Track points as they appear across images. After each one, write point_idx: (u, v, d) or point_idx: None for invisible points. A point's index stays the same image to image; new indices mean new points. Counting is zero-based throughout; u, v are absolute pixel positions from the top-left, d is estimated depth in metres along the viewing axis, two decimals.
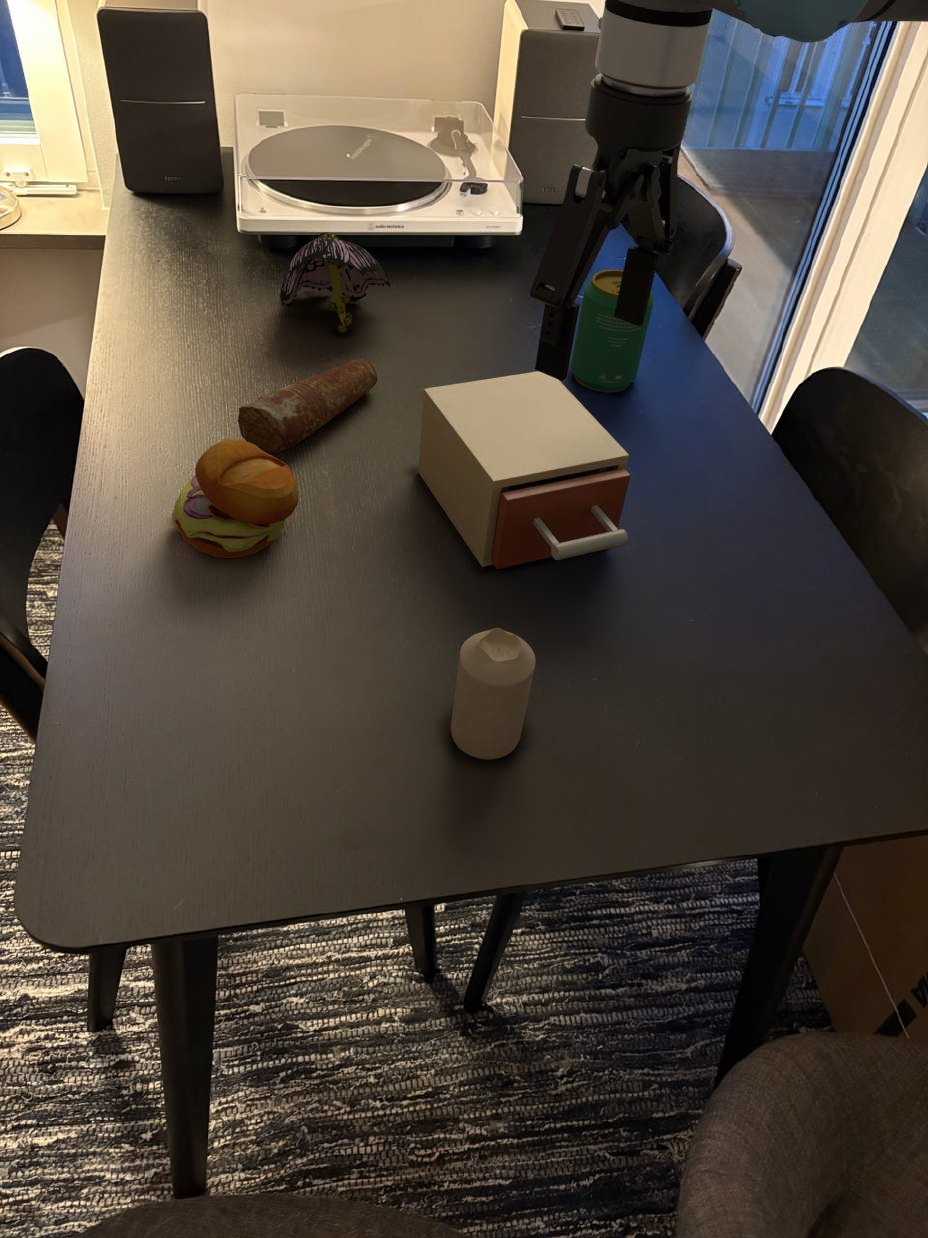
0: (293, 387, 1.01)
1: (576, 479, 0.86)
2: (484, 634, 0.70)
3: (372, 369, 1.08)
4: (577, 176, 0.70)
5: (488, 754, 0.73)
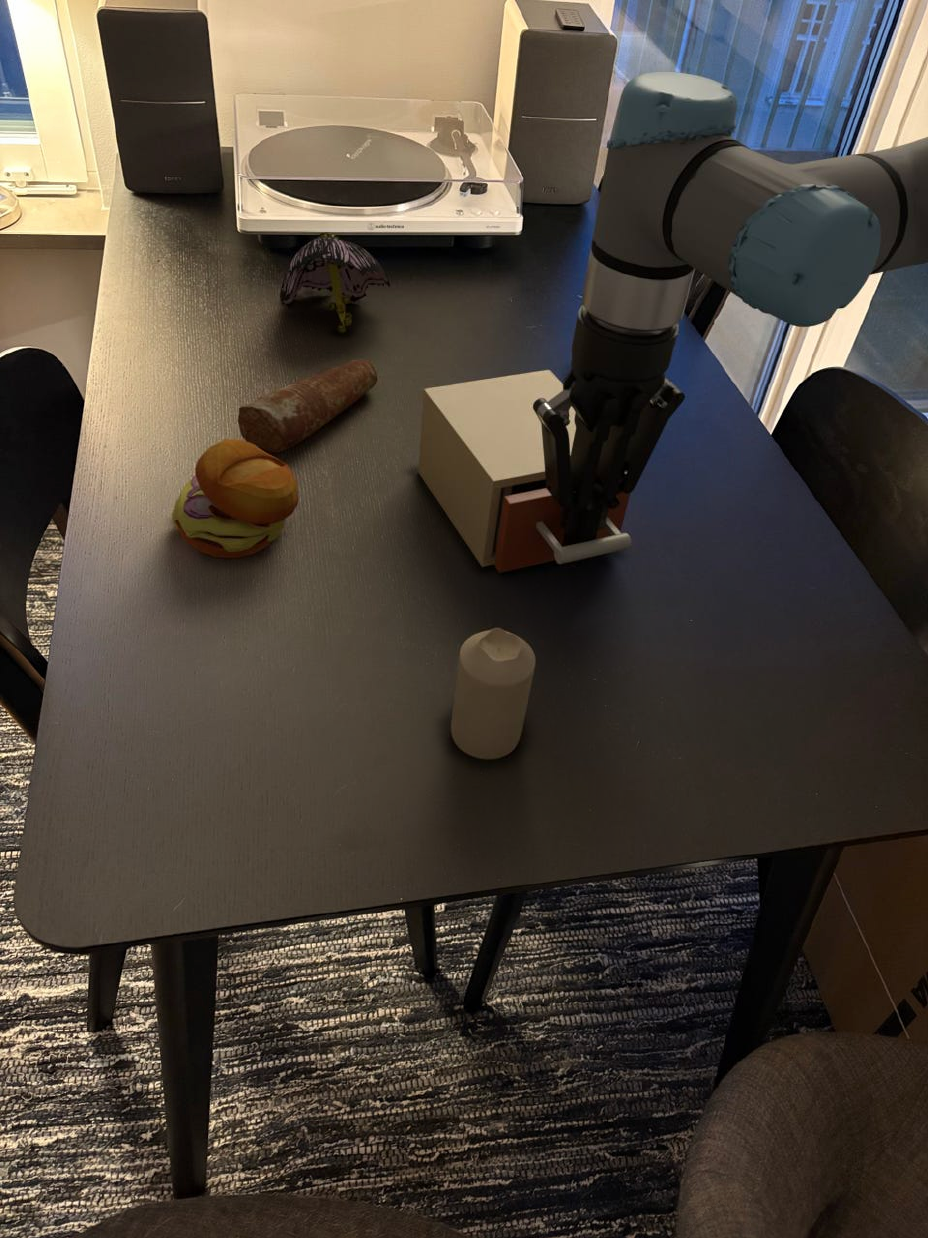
0: (293, 387, 1.01)
1: None
2: (484, 634, 0.70)
3: (372, 369, 1.08)
4: (537, 414, 0.75)
5: (488, 754, 0.73)
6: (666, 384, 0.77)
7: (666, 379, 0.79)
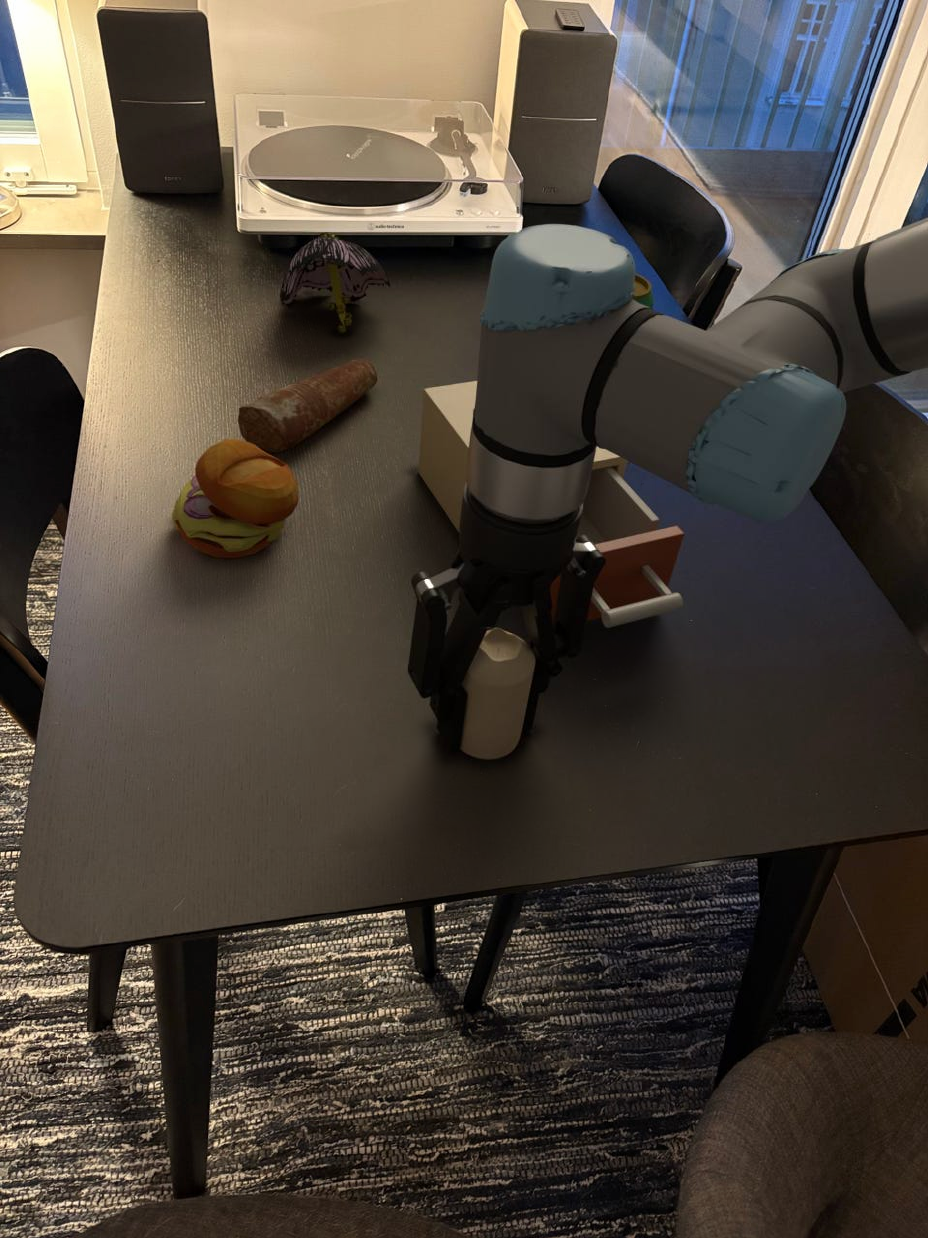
0: (293, 387, 1.01)
1: (627, 539, 0.81)
2: None
3: (372, 369, 1.08)
4: (415, 589, 0.63)
5: (488, 754, 0.73)
6: (579, 551, 0.65)
7: (583, 538, 0.67)
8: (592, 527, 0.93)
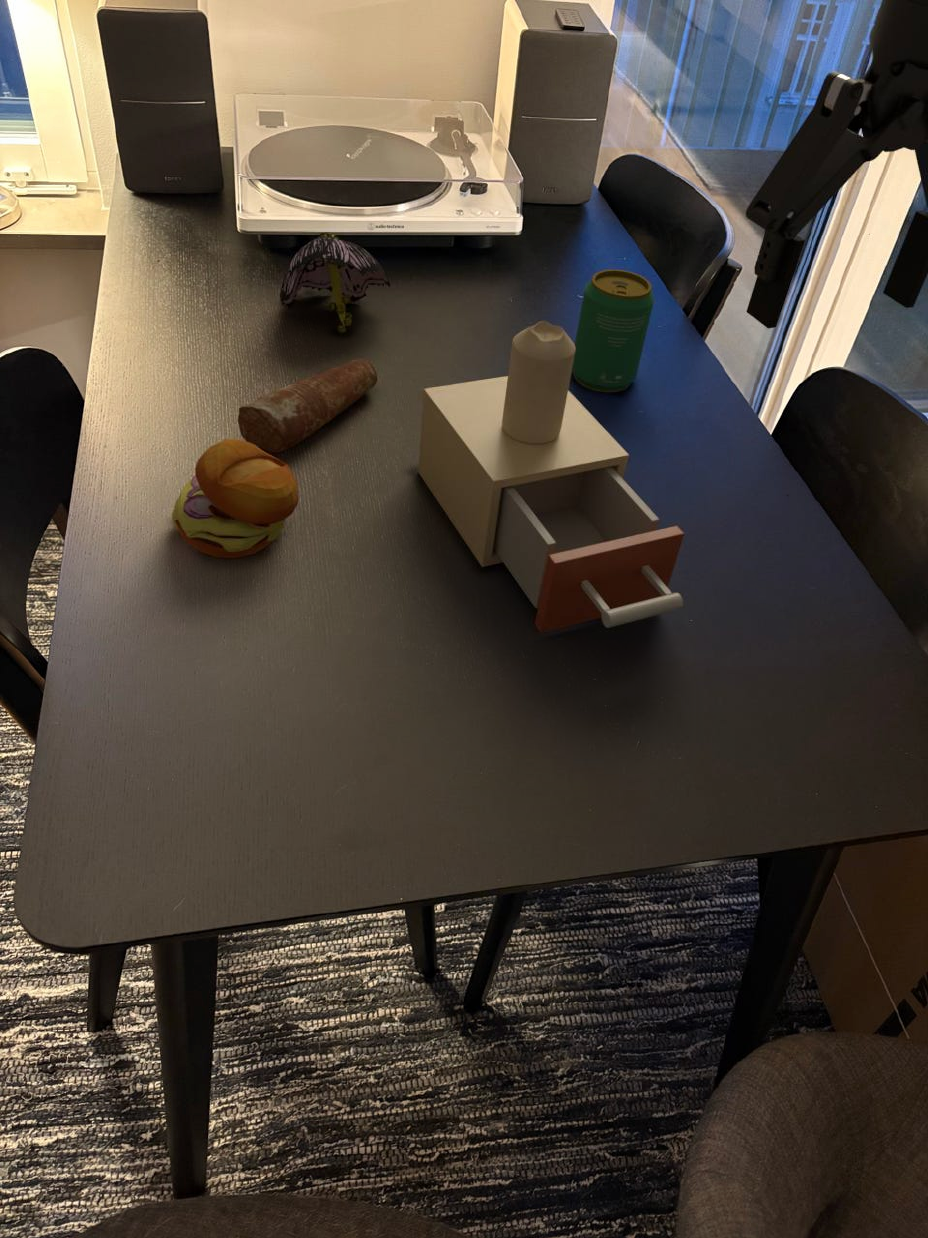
0: (293, 387, 1.01)
1: (627, 539, 0.81)
2: (533, 326, 0.84)
3: (372, 369, 1.08)
4: (830, 84, 0.62)
5: (534, 438, 0.88)
6: None
7: None
8: (592, 527, 0.93)
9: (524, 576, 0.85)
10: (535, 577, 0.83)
